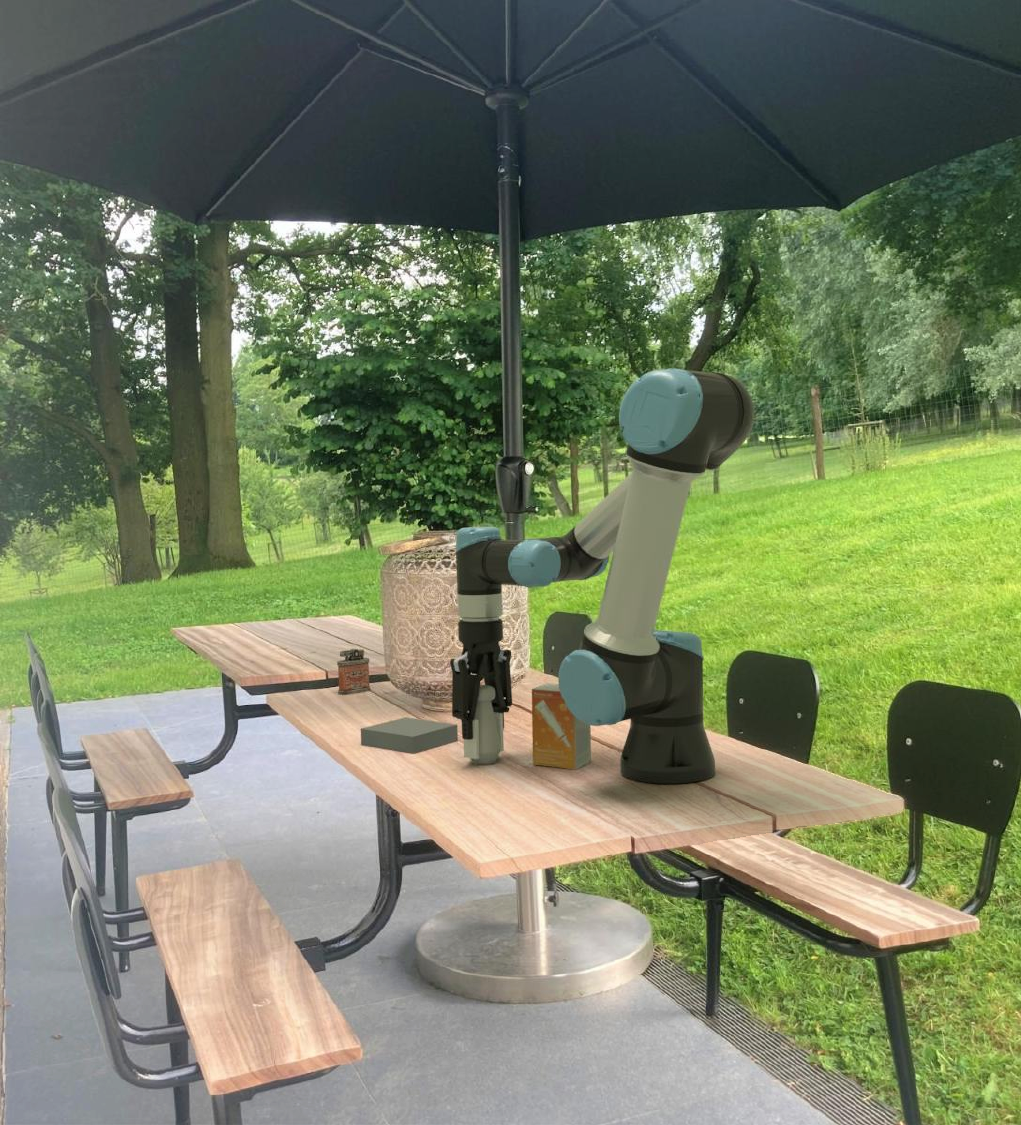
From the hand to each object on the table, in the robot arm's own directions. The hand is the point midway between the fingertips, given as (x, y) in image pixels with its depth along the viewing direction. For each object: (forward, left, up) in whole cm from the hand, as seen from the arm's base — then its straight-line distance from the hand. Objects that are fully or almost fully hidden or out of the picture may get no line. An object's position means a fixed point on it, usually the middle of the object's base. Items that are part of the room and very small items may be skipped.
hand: (484, 753), depth 201 cm
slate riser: (+21, -4, -1) cm, 21 cm away
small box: (-12, -6, -2) cm, 14 cm away
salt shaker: (0, 0, -2) cm, 2 cm away
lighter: (+68, -36, -2) cm, 77 cm away
